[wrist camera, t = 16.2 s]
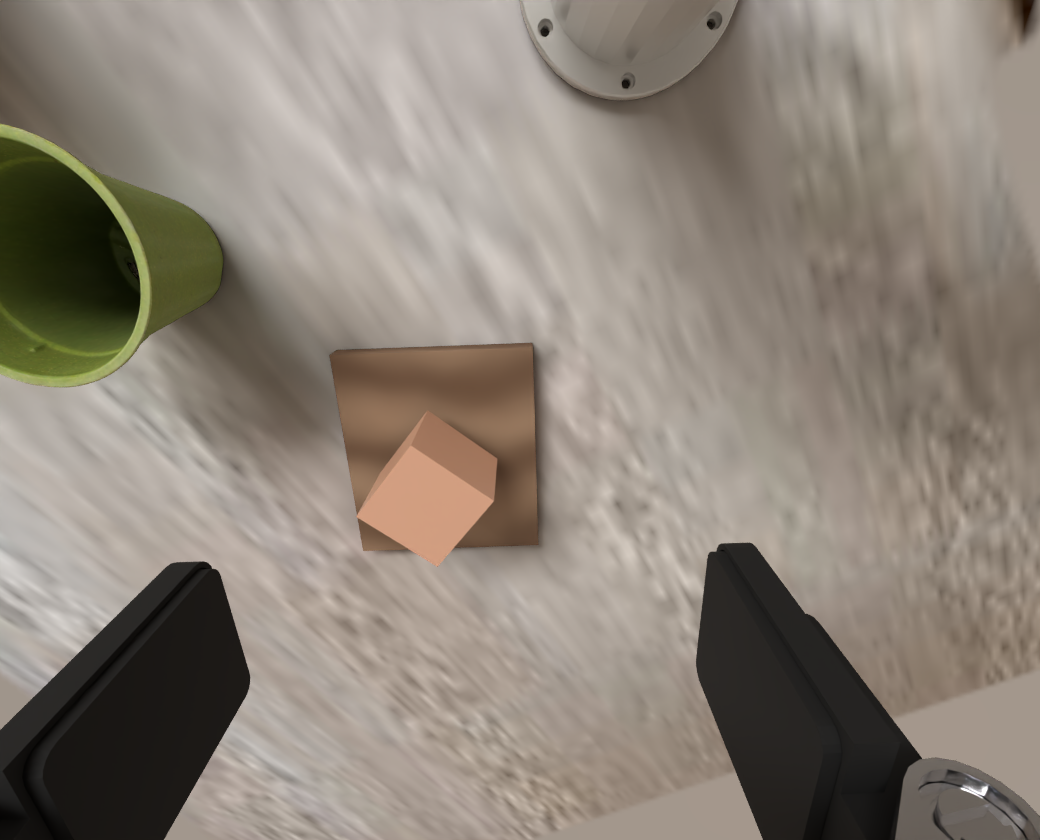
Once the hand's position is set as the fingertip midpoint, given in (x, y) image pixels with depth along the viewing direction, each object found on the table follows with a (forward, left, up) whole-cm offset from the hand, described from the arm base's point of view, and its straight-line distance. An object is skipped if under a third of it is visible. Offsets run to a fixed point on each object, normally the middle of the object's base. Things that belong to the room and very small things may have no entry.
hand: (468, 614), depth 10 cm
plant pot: (-6, -22, -28) cm, 36 cm away
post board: (+9, -5, -28) cm, 30 cm away
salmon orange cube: (+9, -5, -25) cm, 27 cm away
